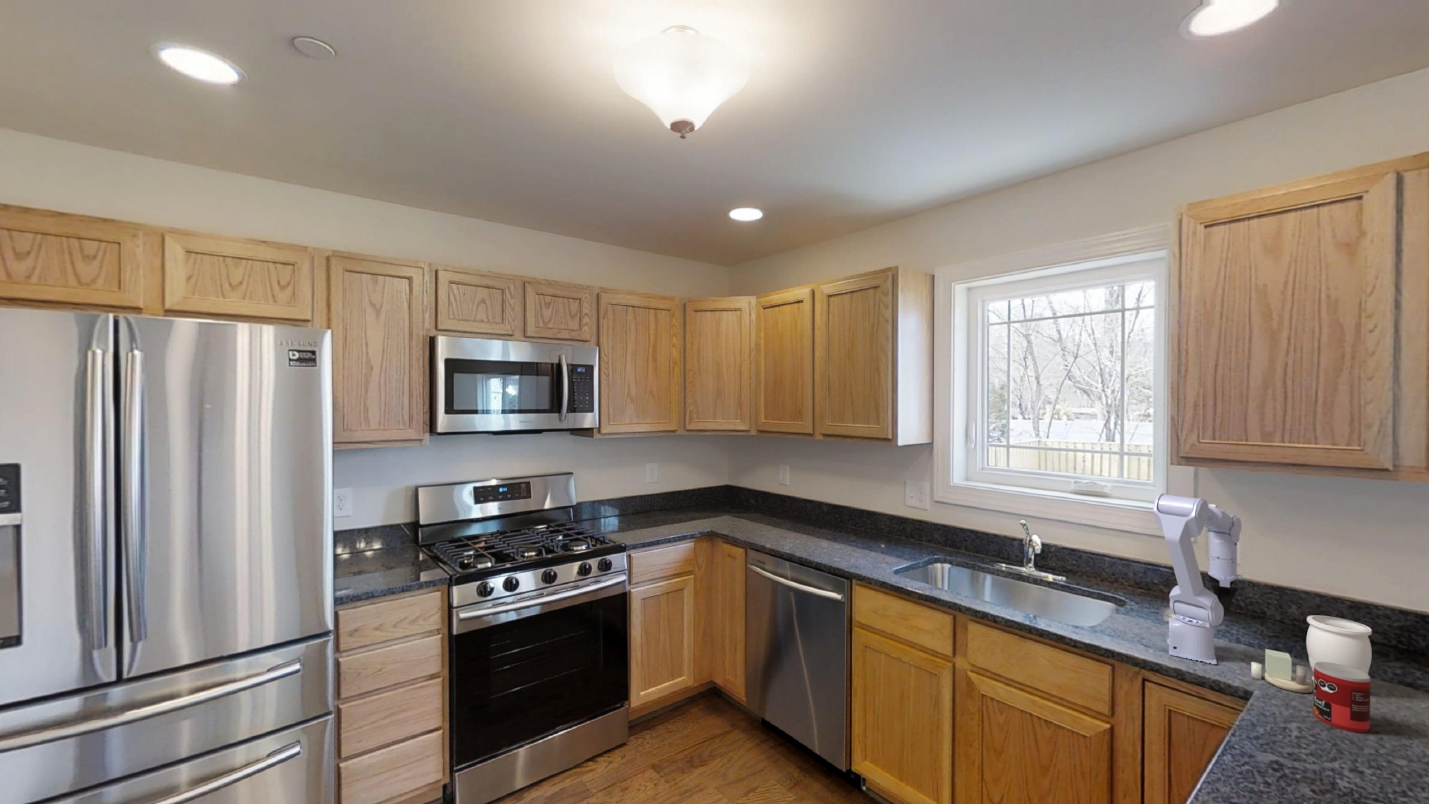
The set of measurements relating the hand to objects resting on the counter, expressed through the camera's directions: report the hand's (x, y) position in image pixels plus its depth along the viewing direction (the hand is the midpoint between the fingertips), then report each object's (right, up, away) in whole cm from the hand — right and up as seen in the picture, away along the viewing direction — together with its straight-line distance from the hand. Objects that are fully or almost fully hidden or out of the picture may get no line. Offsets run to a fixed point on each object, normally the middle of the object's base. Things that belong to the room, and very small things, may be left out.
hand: (1222, 606), depth 159 cm
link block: (-6, -9, -22) cm, 24 cm away
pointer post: (-9, -10, -19) cm, 24 cm away
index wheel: (-4, -11, -23) cm, 25 cm away
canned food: (-9, -11, -38) cm, 41 cm away
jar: (+7, -11, -23) cm, 26 cm away
